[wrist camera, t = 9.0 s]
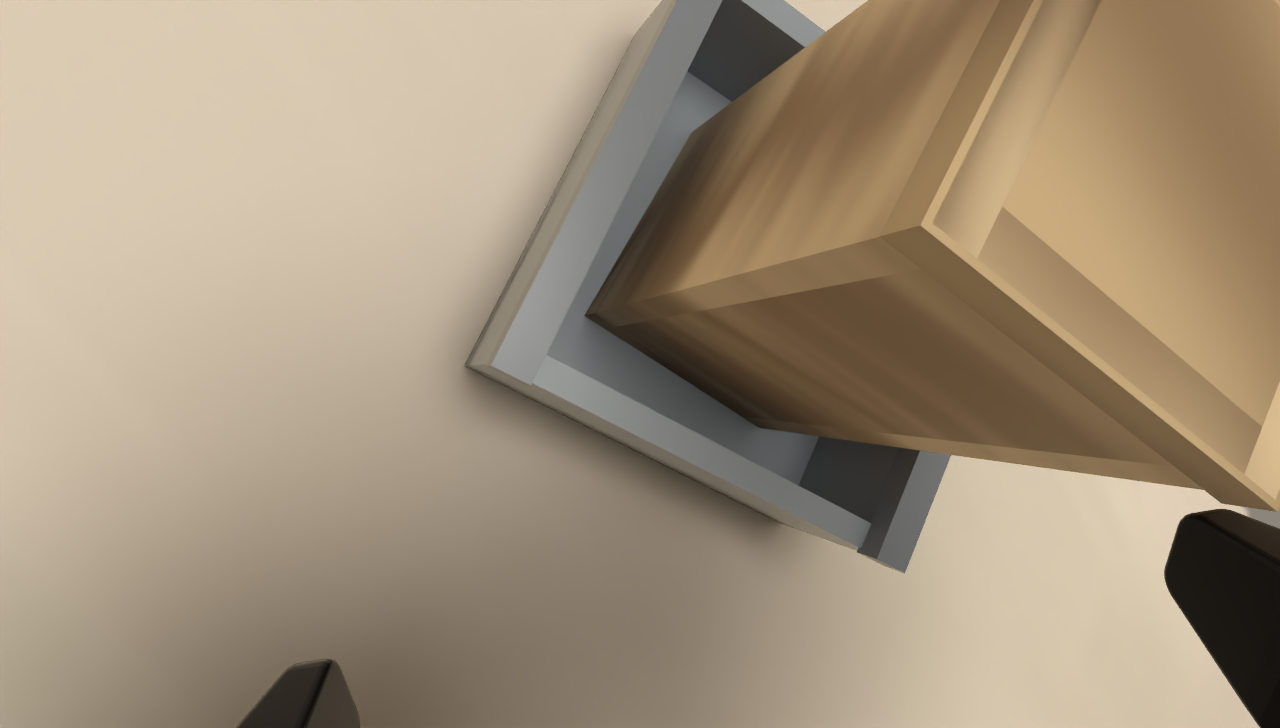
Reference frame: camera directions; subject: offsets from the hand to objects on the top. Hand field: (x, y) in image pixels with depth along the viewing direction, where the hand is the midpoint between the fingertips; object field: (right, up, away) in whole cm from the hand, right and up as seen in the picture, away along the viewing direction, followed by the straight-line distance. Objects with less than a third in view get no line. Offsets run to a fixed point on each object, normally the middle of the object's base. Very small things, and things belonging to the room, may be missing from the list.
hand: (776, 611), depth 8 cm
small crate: (+1, +5, +12) cm, 13 cm away
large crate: (0, +5, +13) cm, 13 cm away
